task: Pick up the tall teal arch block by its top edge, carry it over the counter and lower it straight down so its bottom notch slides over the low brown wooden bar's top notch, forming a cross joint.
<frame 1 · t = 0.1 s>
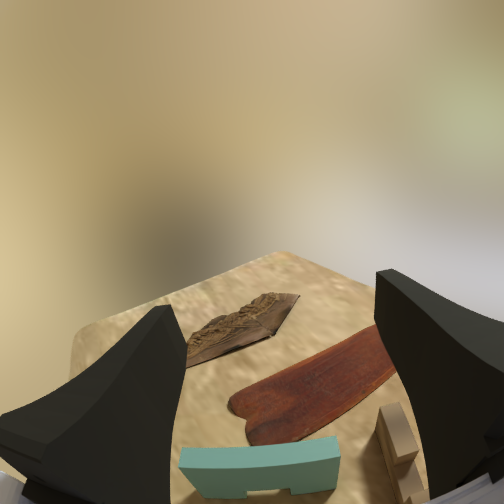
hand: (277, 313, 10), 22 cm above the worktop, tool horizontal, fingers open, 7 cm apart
wooden fragment: (239, 332, 46), on the worktop
brown wooden bar: (404, 489, 17), on the worktop
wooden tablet: (339, 380, 33), on the worktop
teal arch block: (268, 488, 21), on the worktop
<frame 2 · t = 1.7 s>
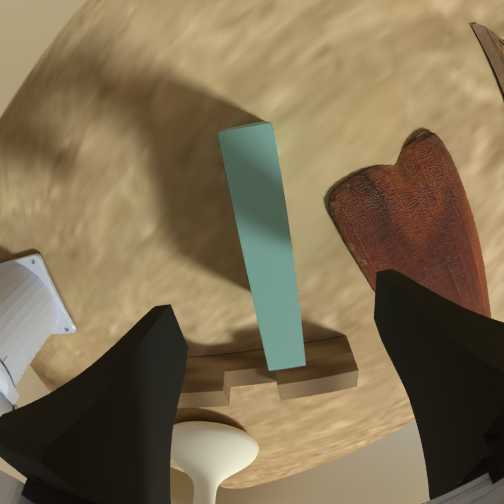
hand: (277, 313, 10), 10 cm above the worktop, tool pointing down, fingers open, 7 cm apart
brown wooden bar: (252, 359, 24), on the worktop
flower in vase: (217, 436, 31), on the worktop
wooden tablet: (436, 289, 23), on the worktop
teal arch block: (264, 218, 19), on the worktop
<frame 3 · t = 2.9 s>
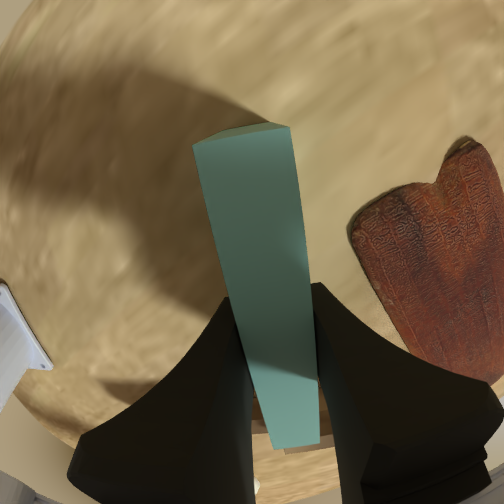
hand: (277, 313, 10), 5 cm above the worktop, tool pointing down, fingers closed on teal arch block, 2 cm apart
brown wooden bar: (252, 405, 20), on the worktop
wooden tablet: (464, 322, 18), on the worktop
teal arch block: (269, 251, 15), on the worktop, touching gripper
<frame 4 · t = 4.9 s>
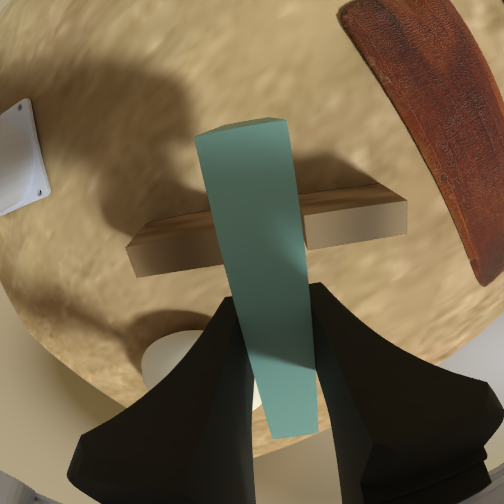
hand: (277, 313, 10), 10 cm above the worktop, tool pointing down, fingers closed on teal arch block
brown wooden bar: (265, 215, 20), on the worktop
flower in vase: (215, 367, 26), on the worktop
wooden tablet: (468, 146, 18), on the worktop
teal arch block: (268, 243, 15), point 5 cm above the worktop, touching gripper
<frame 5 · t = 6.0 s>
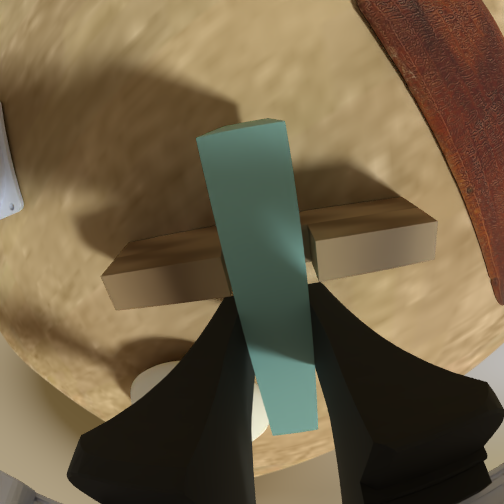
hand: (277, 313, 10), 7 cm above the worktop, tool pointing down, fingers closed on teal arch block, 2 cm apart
brown wooden bar: (267, 234, 17), on the worktop
flower in vase: (212, 395, 23), on the worktop
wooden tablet: (494, 154, 15), on the worktop
teal arch block: (268, 243, 15), point 1 cm above the worktop, touching gripper
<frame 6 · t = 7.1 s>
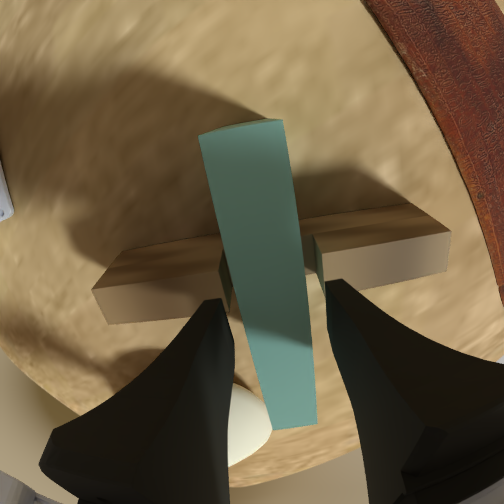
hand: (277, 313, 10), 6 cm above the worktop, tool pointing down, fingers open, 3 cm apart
brown wooden bar: (268, 243, 15), on the worktop
flower in vase: (211, 406, 22), on the worktop
teal arch block: (268, 240, 15), on the worktop, touching brown wooden bar
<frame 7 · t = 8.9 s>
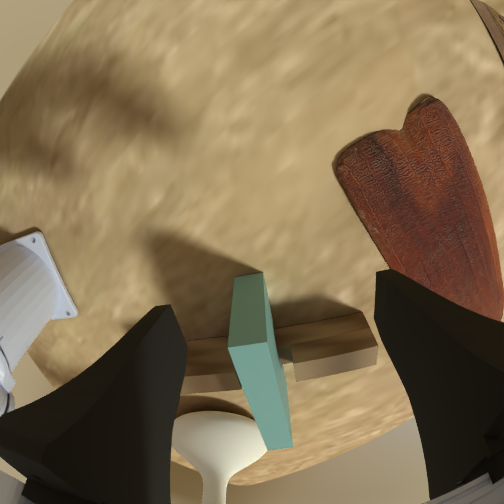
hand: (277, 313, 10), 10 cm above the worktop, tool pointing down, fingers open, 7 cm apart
brown wooden bar: (264, 340, 23), on the worktop
flower in vase: (226, 428, 30), on the worktop
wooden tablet: (449, 262, 21), on the worktop
teal arch block: (264, 338, 23), on the worktop, touching brown wooden bar
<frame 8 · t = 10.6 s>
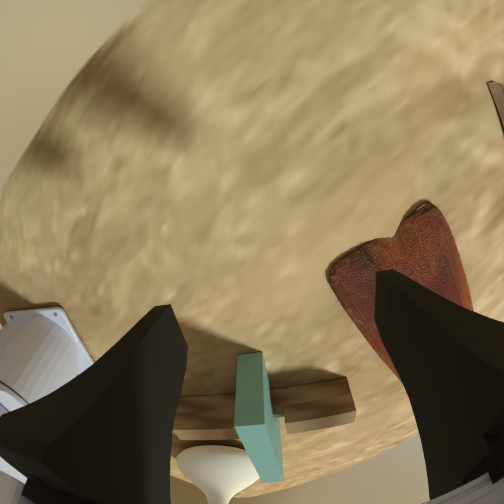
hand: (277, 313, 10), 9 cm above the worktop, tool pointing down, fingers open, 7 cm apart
brown wooden bar: (262, 397, 26), on the worktop
flower in vase: (227, 455, 32), on the worktop
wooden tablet: (427, 334, 24), on the worktop
teal arch block: (261, 396, 26), on the worktop, touching brown wooden bar
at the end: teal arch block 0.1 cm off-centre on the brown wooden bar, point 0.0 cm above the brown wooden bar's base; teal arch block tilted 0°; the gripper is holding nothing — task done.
